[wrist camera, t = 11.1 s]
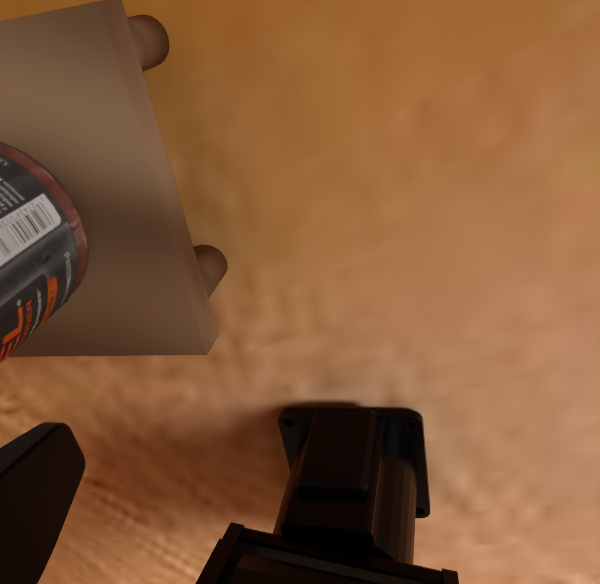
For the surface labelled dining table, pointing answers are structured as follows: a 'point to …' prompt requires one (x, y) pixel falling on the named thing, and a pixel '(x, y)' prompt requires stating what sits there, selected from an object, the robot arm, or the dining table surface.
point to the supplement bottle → (35, 247)
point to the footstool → (108, 182)
